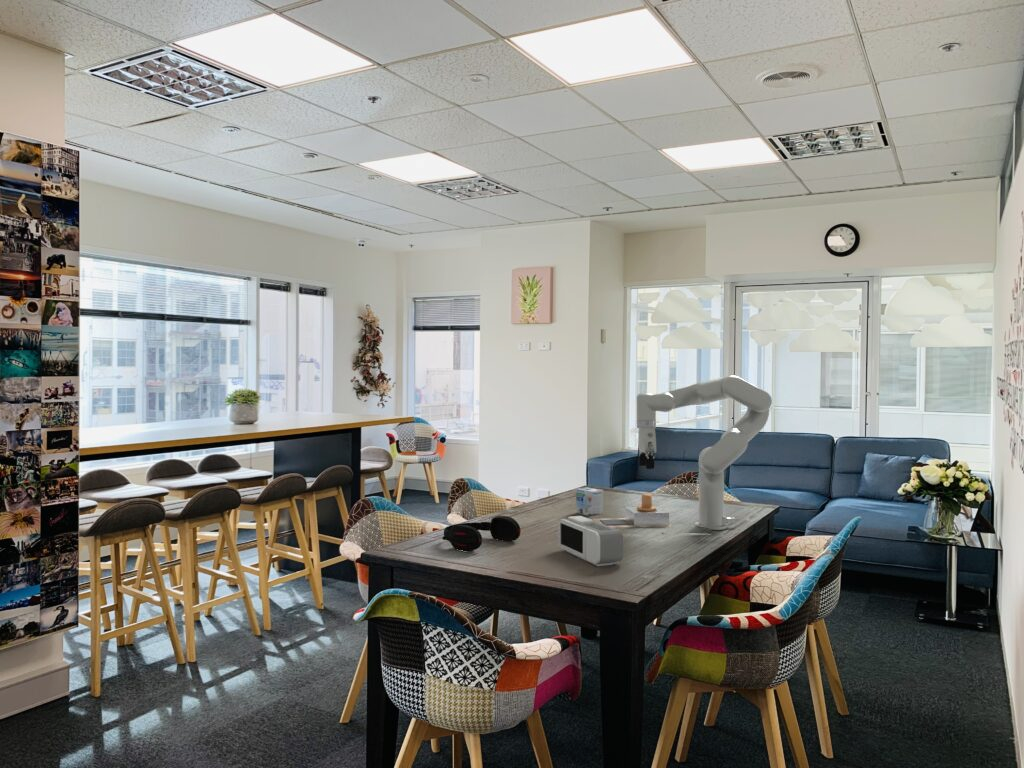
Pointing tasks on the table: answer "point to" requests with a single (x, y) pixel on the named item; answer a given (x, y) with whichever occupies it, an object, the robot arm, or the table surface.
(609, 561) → the alarm clock
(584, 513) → the light bulb box
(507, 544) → the table surface
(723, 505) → the robot arm
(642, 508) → the end cover
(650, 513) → the plate
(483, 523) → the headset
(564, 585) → the table surface
